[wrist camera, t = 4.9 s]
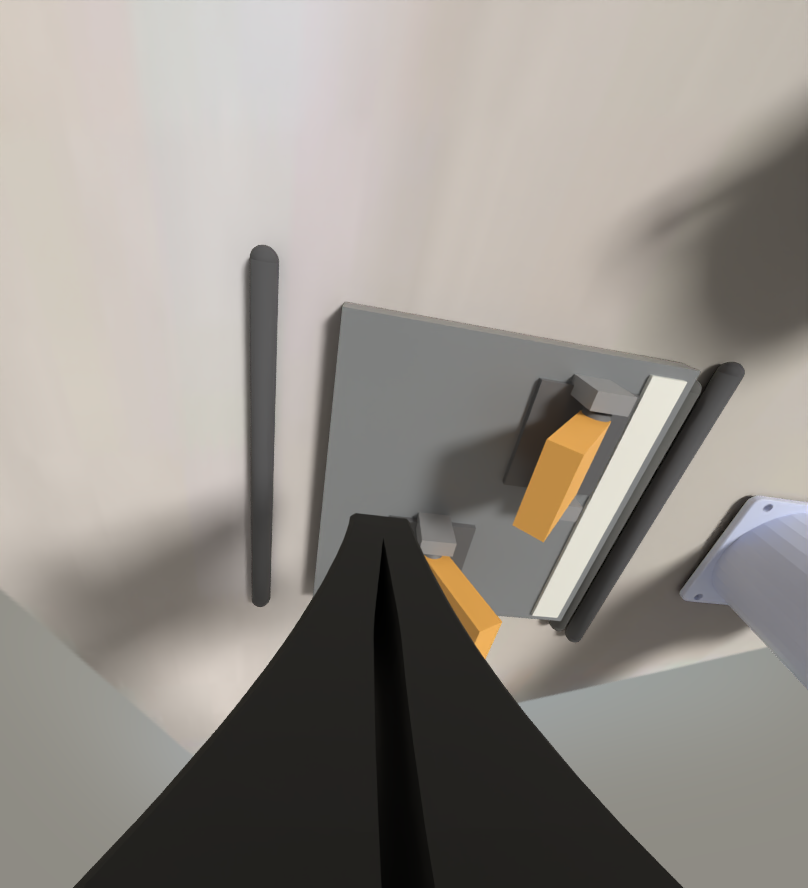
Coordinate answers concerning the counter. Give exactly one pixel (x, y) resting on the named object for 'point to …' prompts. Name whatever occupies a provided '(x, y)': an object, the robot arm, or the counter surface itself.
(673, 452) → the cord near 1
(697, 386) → the dark long thin strip
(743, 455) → the counter surface
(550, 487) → the breaker lever
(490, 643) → the breaker lever
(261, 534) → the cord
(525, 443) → the breaker panel
